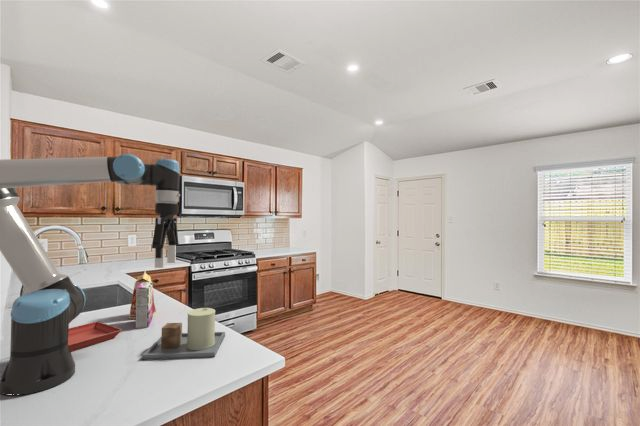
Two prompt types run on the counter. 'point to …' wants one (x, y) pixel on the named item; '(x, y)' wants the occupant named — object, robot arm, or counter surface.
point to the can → (201, 328)
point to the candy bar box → (143, 305)
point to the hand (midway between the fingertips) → (165, 265)
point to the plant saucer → (90, 334)
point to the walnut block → (171, 336)
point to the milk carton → (140, 279)
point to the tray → (183, 349)
